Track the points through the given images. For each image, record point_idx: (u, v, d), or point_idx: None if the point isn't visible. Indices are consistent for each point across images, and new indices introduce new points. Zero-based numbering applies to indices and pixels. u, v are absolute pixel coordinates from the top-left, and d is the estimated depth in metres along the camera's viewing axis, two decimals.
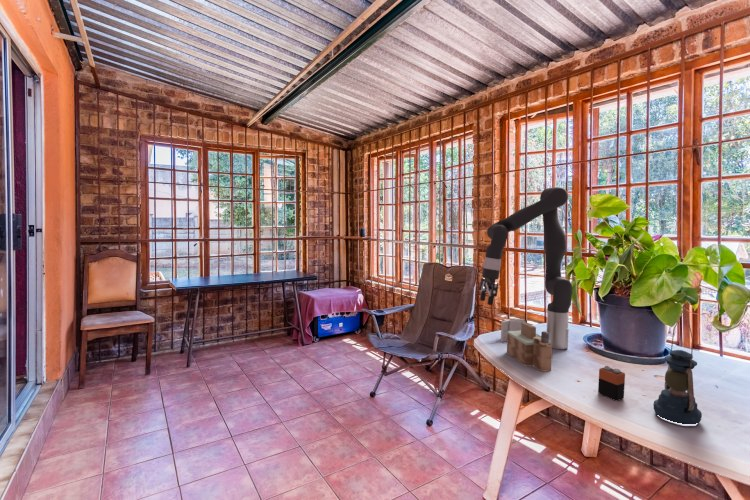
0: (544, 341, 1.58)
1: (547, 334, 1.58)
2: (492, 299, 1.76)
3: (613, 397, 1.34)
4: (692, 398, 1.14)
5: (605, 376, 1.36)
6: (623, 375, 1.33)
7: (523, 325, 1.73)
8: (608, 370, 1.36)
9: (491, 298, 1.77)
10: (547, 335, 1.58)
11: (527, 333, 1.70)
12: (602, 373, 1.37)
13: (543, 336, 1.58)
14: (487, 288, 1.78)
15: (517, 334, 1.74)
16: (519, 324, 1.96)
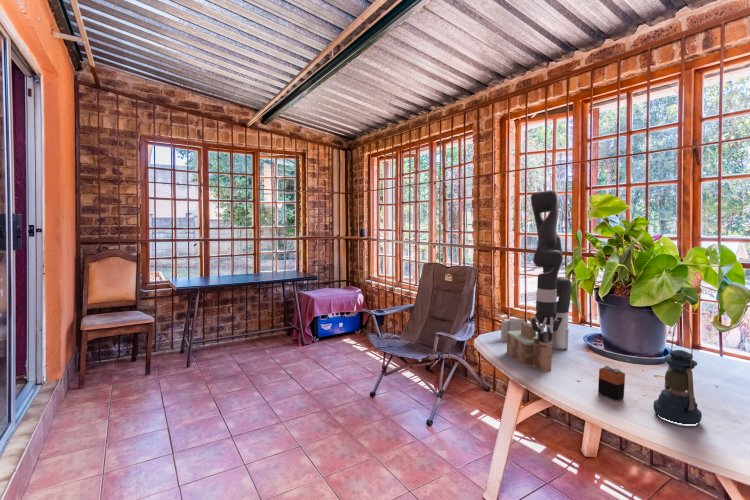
0: (544, 341, 1.58)
1: (547, 334, 1.58)
2: None
3: (613, 397, 1.34)
4: (692, 398, 1.14)
5: (605, 376, 1.36)
6: (623, 375, 1.33)
7: (523, 325, 1.73)
8: (608, 370, 1.36)
9: None
10: (547, 335, 1.58)
11: (527, 333, 1.70)
12: (602, 373, 1.37)
13: None
14: (551, 324, 1.57)
15: (517, 334, 1.74)
16: (519, 324, 1.96)
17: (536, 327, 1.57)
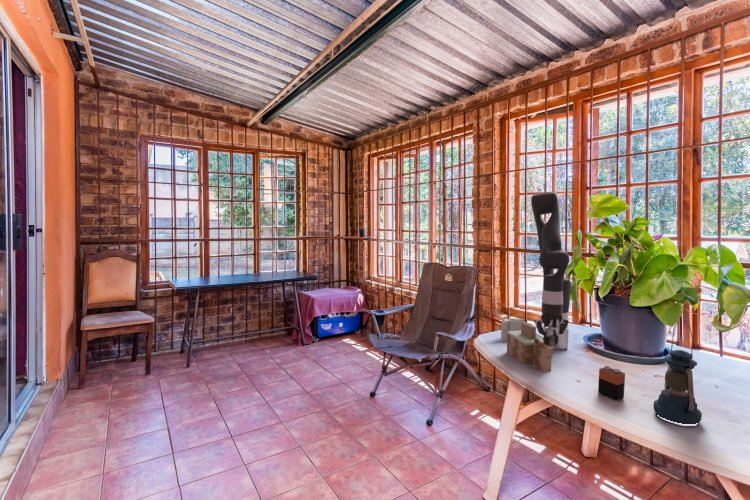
0: (550, 344, 1.54)
1: (553, 337, 1.54)
2: None
3: (613, 397, 1.34)
4: (692, 398, 1.14)
5: (604, 376, 1.36)
6: (623, 375, 1.33)
7: (523, 325, 1.73)
8: (608, 370, 1.36)
9: None
10: (553, 338, 1.54)
11: (527, 333, 1.70)
12: (602, 373, 1.37)
13: (549, 339, 1.54)
14: (558, 327, 1.53)
15: (517, 334, 1.74)
16: (519, 324, 1.96)
17: (542, 330, 1.53)
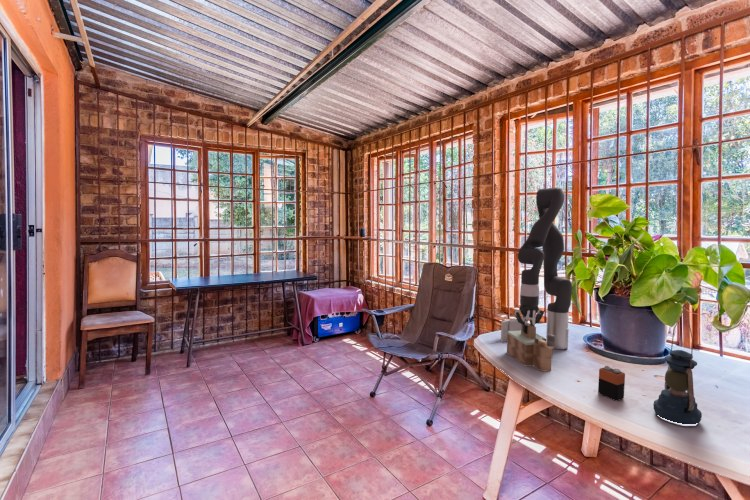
0: (550, 344, 1.54)
1: (553, 337, 1.54)
2: None
3: (613, 397, 1.34)
4: (692, 398, 1.14)
5: (604, 376, 1.36)
6: (623, 375, 1.33)
7: None
8: (608, 370, 1.36)
9: None
10: (553, 338, 1.54)
11: (527, 333, 1.70)
12: (602, 373, 1.37)
13: (549, 339, 1.54)
14: (534, 317, 1.69)
15: (517, 334, 1.74)
16: (519, 324, 1.96)
17: (520, 320, 1.69)
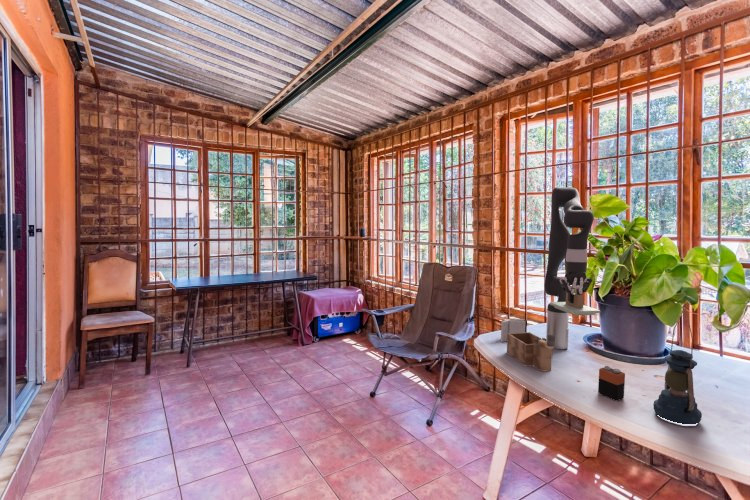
0: (550, 344, 1.54)
1: (553, 337, 1.54)
2: None
3: (613, 397, 1.34)
4: (692, 398, 1.14)
5: (604, 376, 1.36)
6: (623, 375, 1.33)
7: None
8: (608, 370, 1.36)
9: None
10: (553, 338, 1.54)
11: (573, 303, 1.58)
12: (602, 373, 1.37)
13: (549, 339, 1.54)
14: (581, 285, 1.57)
15: (562, 304, 1.61)
16: (519, 324, 1.96)
17: (566, 288, 1.57)
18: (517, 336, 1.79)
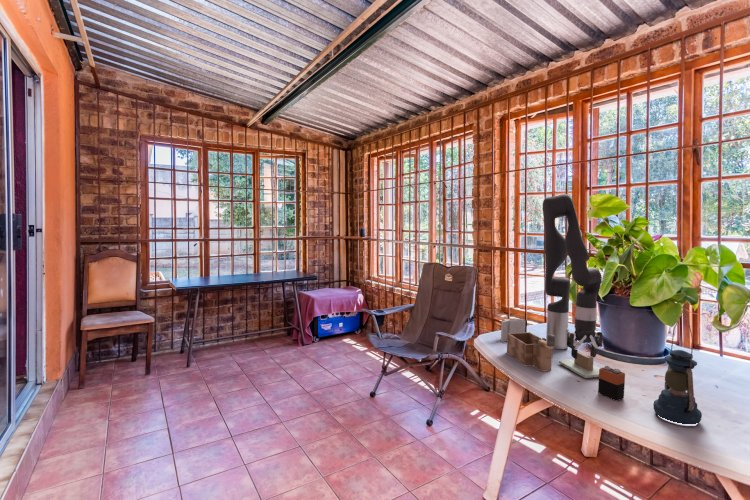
0: (550, 344, 1.54)
1: (553, 337, 1.54)
2: None
3: (613, 397, 1.34)
4: (692, 398, 1.14)
5: (605, 376, 1.36)
6: (623, 375, 1.33)
7: (577, 354, 1.60)
8: (608, 370, 1.36)
9: None
10: (553, 338, 1.54)
11: (582, 364, 1.58)
12: (602, 373, 1.37)
13: (549, 339, 1.54)
14: (593, 341, 1.57)
15: (571, 364, 1.61)
16: (519, 324, 1.96)
17: (572, 343, 1.56)
18: (517, 336, 1.79)
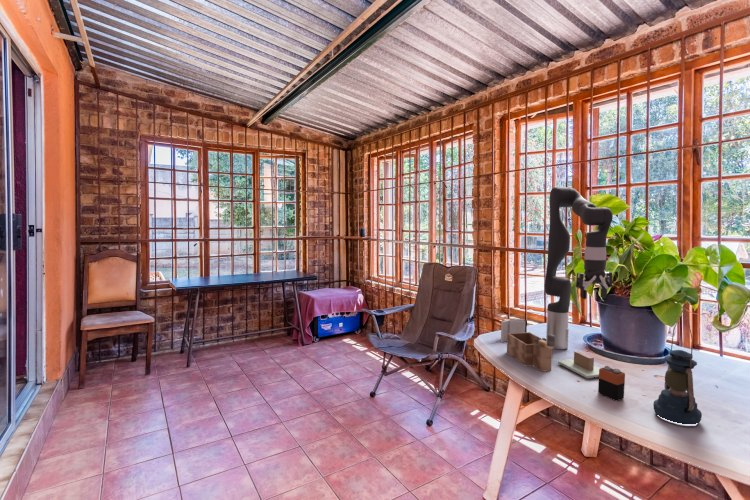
0: (550, 344, 1.54)
1: (553, 337, 1.54)
2: None
3: (613, 397, 1.34)
4: (692, 398, 1.14)
5: (604, 376, 1.36)
6: (623, 375, 1.33)
7: (577, 354, 1.60)
8: (608, 370, 1.36)
9: None
10: (553, 338, 1.54)
11: (582, 364, 1.58)
12: (602, 373, 1.37)
13: (549, 339, 1.54)
14: (603, 281, 1.56)
15: (571, 364, 1.61)
16: (519, 324, 1.96)
17: (581, 283, 1.55)
18: (517, 336, 1.79)
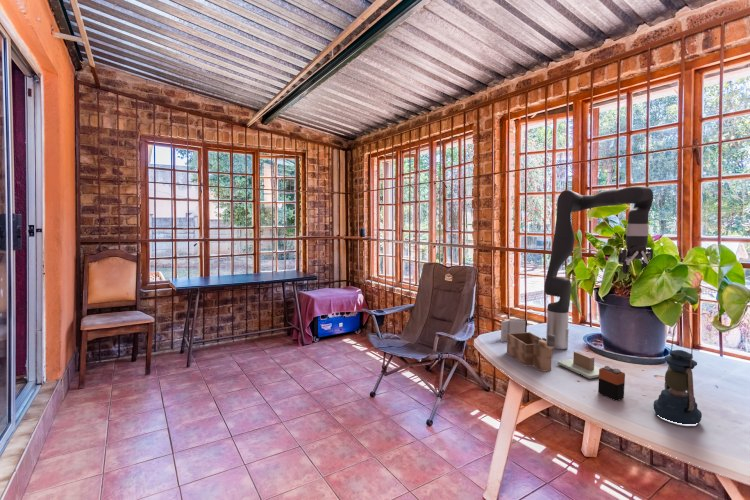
0: (550, 344, 1.54)
1: (553, 337, 1.54)
2: (645, 266, 1.66)
3: (613, 397, 1.34)
4: (692, 398, 1.14)
5: (604, 376, 1.36)
6: (623, 375, 1.33)
7: (577, 355, 1.60)
8: (608, 370, 1.36)
9: None
10: (553, 338, 1.54)
11: (583, 364, 1.58)
12: (602, 373, 1.37)
13: (549, 339, 1.54)
14: (645, 257, 1.64)
15: (571, 365, 1.60)
16: (519, 324, 1.96)
17: (624, 258, 1.63)
18: (517, 336, 1.79)
